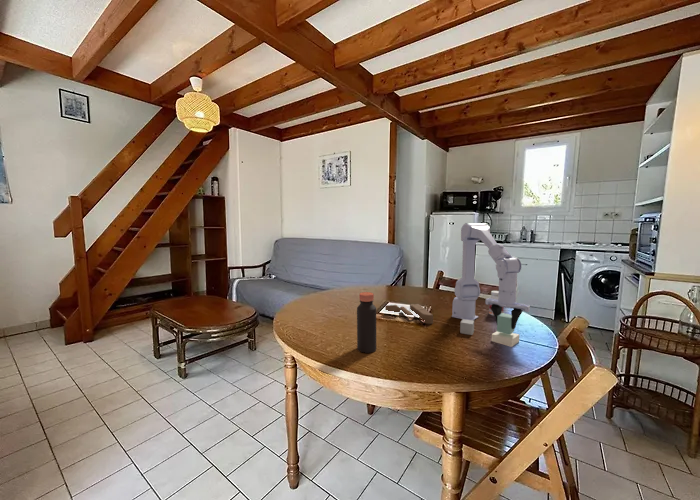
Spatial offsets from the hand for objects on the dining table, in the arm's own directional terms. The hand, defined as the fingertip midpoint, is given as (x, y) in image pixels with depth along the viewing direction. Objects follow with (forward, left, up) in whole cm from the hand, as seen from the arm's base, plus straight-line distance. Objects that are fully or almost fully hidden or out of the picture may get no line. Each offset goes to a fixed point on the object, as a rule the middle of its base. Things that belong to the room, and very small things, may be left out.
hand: (505, 326), depth 109 cm
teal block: (0, 0, -2) cm, 2 cm away
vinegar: (-32, -41, -6) cm, 52 cm away
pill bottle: (-14, +30, -6) cm, 34 cm away
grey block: (-14, -1, -6) cm, 15 cm away
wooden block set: (-41, -4, -6) cm, 41 cm away
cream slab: (0, 0, -6) cm, 6 cm away
